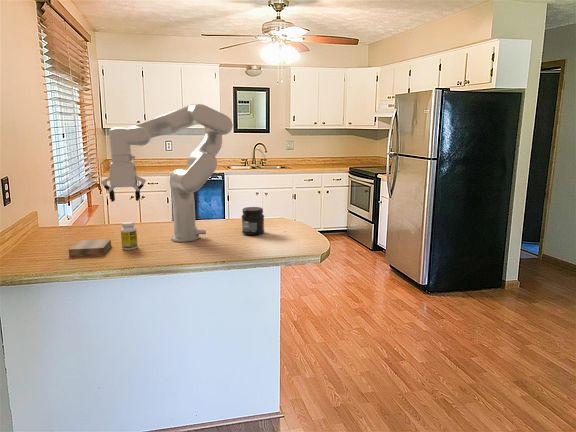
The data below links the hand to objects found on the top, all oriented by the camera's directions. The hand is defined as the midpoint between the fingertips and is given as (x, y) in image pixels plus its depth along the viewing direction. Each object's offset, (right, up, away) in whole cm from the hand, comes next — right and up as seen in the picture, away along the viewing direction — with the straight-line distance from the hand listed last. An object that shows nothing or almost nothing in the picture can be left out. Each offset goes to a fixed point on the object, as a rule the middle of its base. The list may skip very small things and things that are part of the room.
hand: (125, 200), depth 186 cm
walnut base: (-14, -21, 0) cm, 25 cm away
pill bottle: (0, -20, +4) cm, 21 cm away
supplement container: (+50, -15, +27) cm, 59 cm away
